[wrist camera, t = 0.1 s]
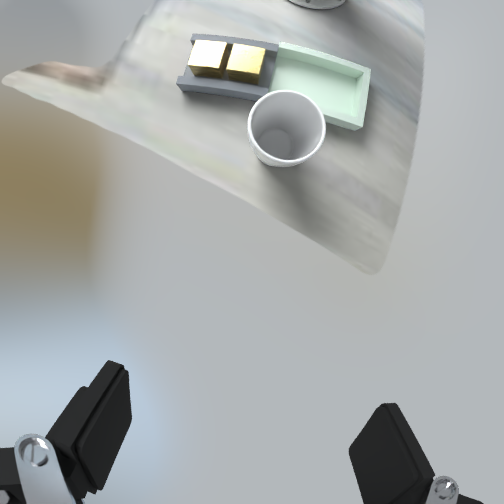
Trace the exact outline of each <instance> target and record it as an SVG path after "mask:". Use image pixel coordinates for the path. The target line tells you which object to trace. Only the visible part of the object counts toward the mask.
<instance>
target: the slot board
mask: <svg viewBox="0 0 504 504" xmlns="http://www.w3.org/2000/svg"><path fill="white" fill-rule="evenodd" d="M196 40H203V41H215V42H225V43H227V48H228V53H229V56H228V60H227V63H226V66H225V70H224V73H223V77H222V79H221V78H213V77H205V76H195V75H193V73H192V71H191V69H190V68H189V66H188V63H189V60H190V57H191V54H192V51H193V48H194V45H195V42H196ZM191 42H192V45H193V48H192V51H191V54H190V57H189V60H188V63H187V66H186V69H185V73H184V76H178V79H177V82H176V84H177V85H178V86H179V88H180V89H181V90H182V91H191V92H200V93H208V94H215V95H222V96H229V97H235V98H241V99H246V100H251V101H258V100H259V99H260V98H262V97H263V96H265V95H266V94H267V93H268V90H269V86H270V82H271V78H272V74H273V70H274V66H275V62H276V58H277V53H278V48H279V45H277V44H272V43H267V42H262V41H256V40H250V39H243V38H236V37H228V36H218V35H206V34H193V35H192V37H191ZM234 44H240V45H247V46H253V47H259V48H264V49H265V59H264V64H263V68H262V72H261V76H260V80H259V84H258V85H257V84H252V83H247V82H241V81H234V80H229V77H228V73H227V66H228V62H229V59H230V55H231V52H232V49H233V46H234Z"/></svg>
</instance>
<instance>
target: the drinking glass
mask: <svg viewBox="0 0 504 504" xmlns="http://www.w3.org/2000/svg"><path fill="white" fill-rule="evenodd" d="M247 135H248V140H249V143H250V146H251V148H252V150H253V151H254V153H255V154H256V155H257V157H258V158H259V159H260V160H261V161H262V162H263V163H265V164H267V165H269V166H277V167H290V166H295V165H298V164H300V163H302V162H304V161H306V160H308V159H309V158H310V157H312V156H313V155H314V154H315V153H316V152H317V151H318V150H319V149H320V147H321V146H322V144H323V142H324V139H325V135H326V123H325V118H324V116H323V113H322V111H321V110H320V108H319V107H318V105H317V104H316V103H315V102H314V101H313V100H312V99H310V98H309V97H307V96H306V95H304V94H302V93H299V92H296V91H291V90H278V91H274V92H271V93H268V94H266V95H265V96H263V97H262V98H260V99H259V100H258V101H257V102H256V103H255V105H254V106H253V108H252V109H251V111H250V114H249V118H248V124H247Z"/></svg>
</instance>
